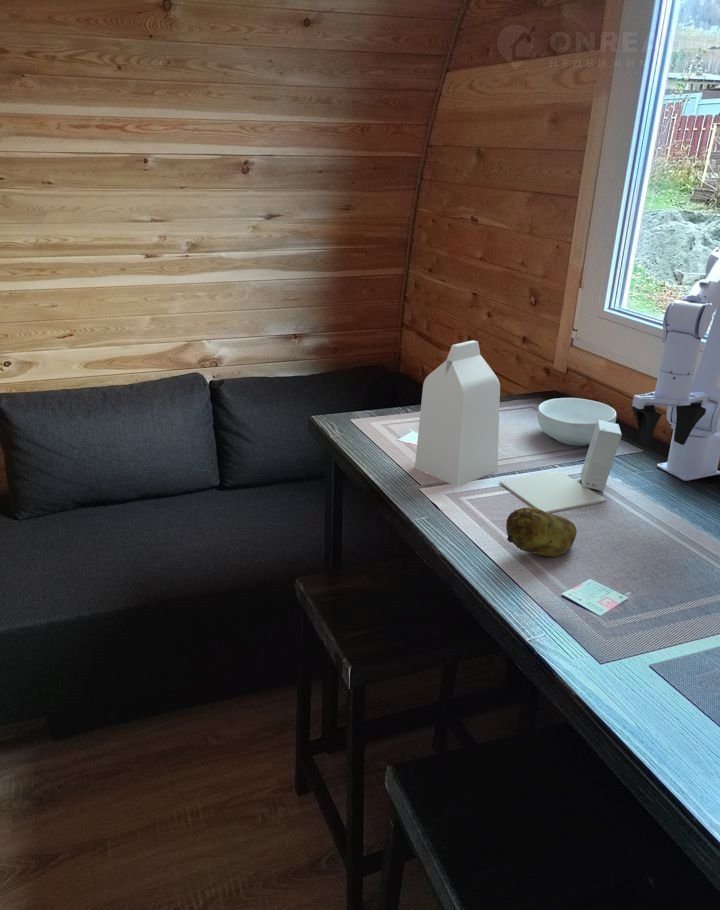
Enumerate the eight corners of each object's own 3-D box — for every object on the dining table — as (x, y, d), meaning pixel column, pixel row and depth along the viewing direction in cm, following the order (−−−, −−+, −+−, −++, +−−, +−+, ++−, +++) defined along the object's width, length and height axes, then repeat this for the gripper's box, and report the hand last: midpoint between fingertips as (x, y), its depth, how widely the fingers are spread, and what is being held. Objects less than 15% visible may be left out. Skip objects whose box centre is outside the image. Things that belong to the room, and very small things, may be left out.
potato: (588, 562, 123) (595, 517, 120) (511, 567, 121) (516, 522, 118) (568, 537, 130) (574, 494, 127) (494, 541, 129) (498, 498, 125)
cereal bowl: (553, 420, 183) (556, 392, 180) (622, 436, 174) (627, 407, 172) (522, 441, 170) (525, 411, 168) (595, 460, 162) (600, 428, 159)
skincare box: (604, 492, 147) (622, 434, 142) (581, 487, 148) (599, 429, 143) (601, 479, 153) (619, 423, 148) (580, 474, 153) (596, 418, 148)
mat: (558, 472, 155) (559, 470, 155) (605, 501, 143) (605, 499, 143) (499, 483, 150) (499, 481, 150) (543, 514, 138) (543, 512, 138)
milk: (457, 486, 148) (467, 355, 138) (414, 467, 156) (421, 342, 146) (497, 470, 155) (509, 344, 145) (454, 453, 163) (463, 332, 153)
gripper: (657, 378, 129) (642, 454, 134) (726, 375, 134) (710, 449, 138) (630, 367, 135) (617, 440, 140) (698, 365, 140) (683, 436, 145)
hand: (661, 444), depth 140 cm, fingers open, 7 cm apart
